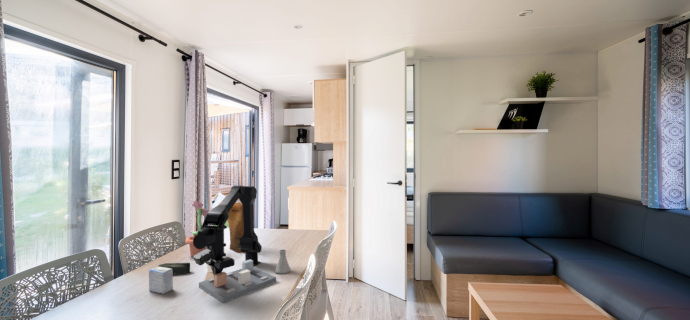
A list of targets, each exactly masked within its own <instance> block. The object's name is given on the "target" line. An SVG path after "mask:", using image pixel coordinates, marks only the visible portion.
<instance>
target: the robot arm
mask: <svg viewBox="0 0 690 320" xmlns="http://www.w3.org/2000/svg"><path fill="white" fill-rule="evenodd" d="M257 194H258V191H257V188H256V186H254V185H252V186H251V185H250V186H249V185H233V186H232V187H231V188H230V191H229V192H228V193H227V194H226V196H225V197H224V198H223V200H221V202H220V203H219V204H218V205H217V206H214V207H212V208H211V209H210V210H208V211H209V212H208V213H207V212H206V213H207V215H206V216H205V218H204V220H203V222H202V227H201V230H200V231H199V230H197V231H198V234H197V235H196V236H195V237H194V239H193V245H194V246H195V248H197V249H203V248H205V247H206V249H205V250H203V251H201V252H199V253H198V254H196V255H194V256H192V257H193V259H194V260H193V261H194V262H195V264H197V265H198V266H202V265H204V264H206V265H208V266H209V267H210V268H211V273H212V274H213V275H212V276H214V274H217V273H221V272H223V270H224V269H227V268H231V267H234V266H235V265H236V264H235V259H233V258H232V257H230V256H227V253H225V247H227V243H225V229H227V228H228V227H227V225H226V223H227V222H228V220H227V219H228V217H229V211H230V210H231V208H232V207H233V205H234V204H235V203H237V201H238V200H239V202H240V203H241V204H242V205H243V227H244V234H243V235H242V237H241V238H240V247H241V252H245V253H244V255H245V260H244V261H246V260H250V259H251V260H253V266H256V265H259V264H261V261H259V254H258V253H261V252H262V249H263V248H262V244H261V243H260V242H259V238H258V235H257V233H255V223H254V219H255V218H254V202H255V201H256V199H257Z"/></svg>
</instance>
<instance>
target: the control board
mask: <svg viewBox="0 0 690 320" xmlns="http://www.w3.org/2000/svg"><path fill="white" fill-rule="evenodd" d="M241 271H242V268H240V269H237V270H234V271H230V272H226V273H227V284H225V285H222V286H220V287H216V286H214V277H211V278H209V279H205V280H203V281H199V282H198V288H199V289H201V290H202V291H204V292H205V293H206V294H207V295H210V296H211V297H213V298H214V299H216V300H217V301H219V302H221V304H224V303H227V302H229V301H232V300H234V299H237V298H239V297H242V296H244V295H246V294H247V295H248V294H250V293H253V292H254V291H257V290H259V289H262V288H264V287H267V286H269V285H271V284H274V283H277V276H274V275H273V274H270V273H267V272H266V271H263V270H261V269H259V268H257V267H254V266H253V271H250V282H248V283H245V284H242V285H241V284H239V283H238V272H241Z"/></svg>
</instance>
